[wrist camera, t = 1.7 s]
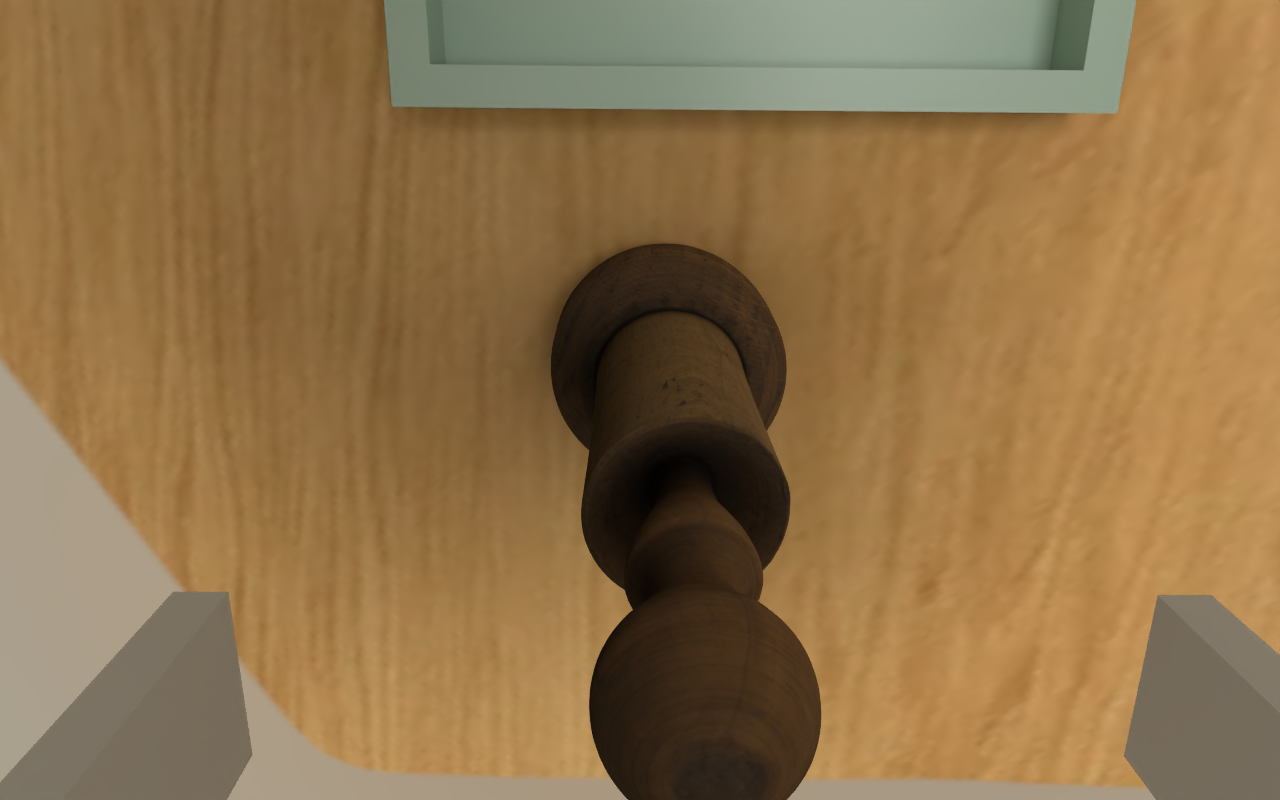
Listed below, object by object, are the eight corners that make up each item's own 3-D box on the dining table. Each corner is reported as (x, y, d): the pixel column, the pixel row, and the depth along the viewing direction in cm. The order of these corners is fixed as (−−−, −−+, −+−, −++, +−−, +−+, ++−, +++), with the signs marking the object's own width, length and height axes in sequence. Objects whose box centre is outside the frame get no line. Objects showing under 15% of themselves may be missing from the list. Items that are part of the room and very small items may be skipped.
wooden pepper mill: (802, 268, 27) (1080, 594, 10) (748, 469, 29) (903, 1018, 12) (576, 221, 27) (472, 482, 10) (538, 429, 29) (398, 944, 12)
